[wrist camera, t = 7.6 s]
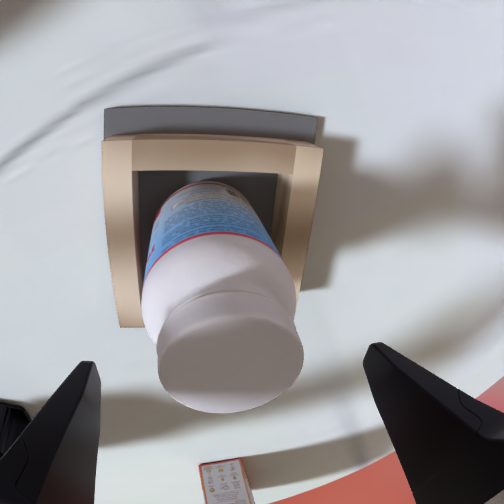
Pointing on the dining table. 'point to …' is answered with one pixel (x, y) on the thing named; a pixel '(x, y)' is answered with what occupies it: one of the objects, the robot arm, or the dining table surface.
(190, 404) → the pill bottle
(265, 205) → the mat
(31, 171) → the dining table surface
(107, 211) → the collar
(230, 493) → the cracker box
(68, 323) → the dining table surface
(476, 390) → the dining table surface
